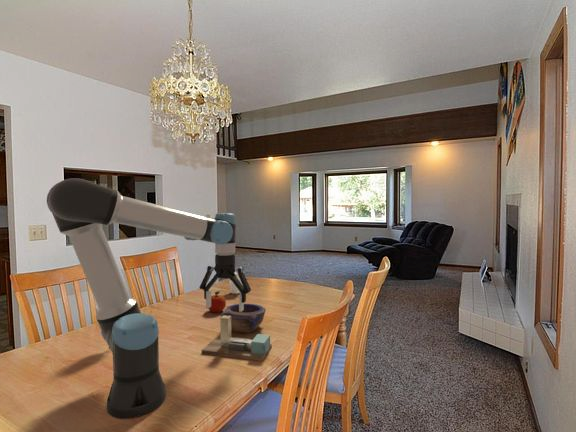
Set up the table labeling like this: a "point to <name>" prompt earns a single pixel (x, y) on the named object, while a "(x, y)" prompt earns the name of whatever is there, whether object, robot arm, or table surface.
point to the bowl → (245, 317)
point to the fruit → (217, 303)
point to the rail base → (232, 350)
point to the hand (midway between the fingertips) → (224, 309)
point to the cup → (232, 285)
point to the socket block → (260, 344)
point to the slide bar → (226, 334)
